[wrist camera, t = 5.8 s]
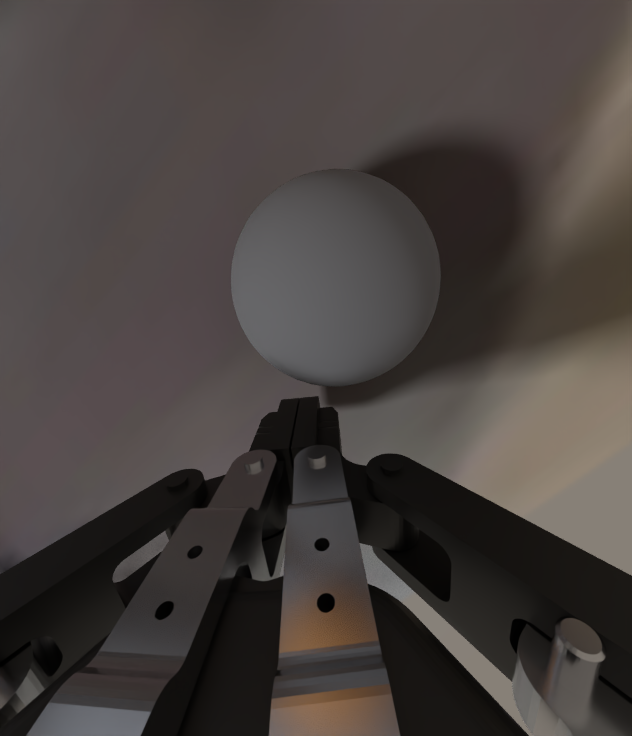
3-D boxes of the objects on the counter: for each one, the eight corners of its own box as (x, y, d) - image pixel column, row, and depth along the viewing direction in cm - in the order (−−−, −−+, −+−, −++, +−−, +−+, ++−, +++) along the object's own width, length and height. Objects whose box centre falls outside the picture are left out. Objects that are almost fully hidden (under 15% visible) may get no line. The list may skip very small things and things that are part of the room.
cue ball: (196, 408, 8) (192, 252, 11) (356, 427, 11) (319, 309, 14) (383, 209, 4) (298, 64, 7) (521, 333, 8) (427, 204, 11)
